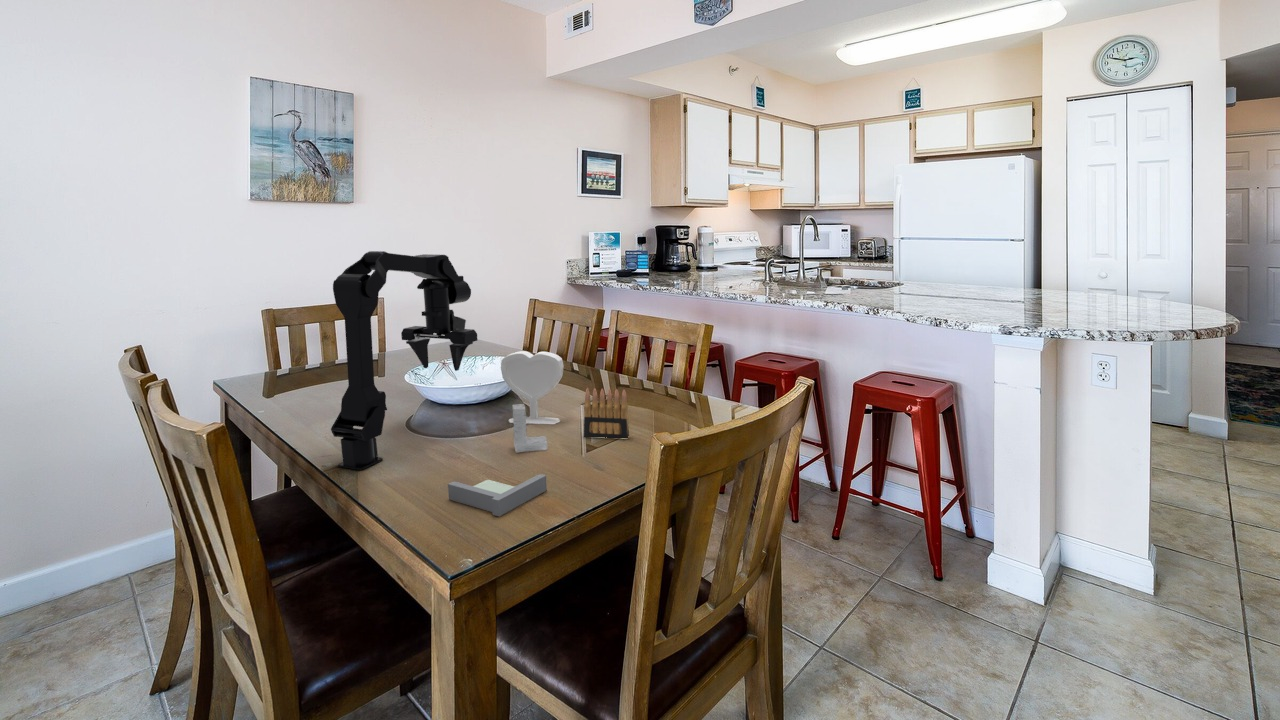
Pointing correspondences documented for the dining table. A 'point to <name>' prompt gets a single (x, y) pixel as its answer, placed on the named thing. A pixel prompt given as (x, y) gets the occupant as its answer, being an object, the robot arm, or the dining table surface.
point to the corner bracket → (497, 495)
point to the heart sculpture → (532, 378)
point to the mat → (494, 486)
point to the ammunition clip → (606, 416)
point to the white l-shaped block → (520, 436)
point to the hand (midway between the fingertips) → (441, 369)
